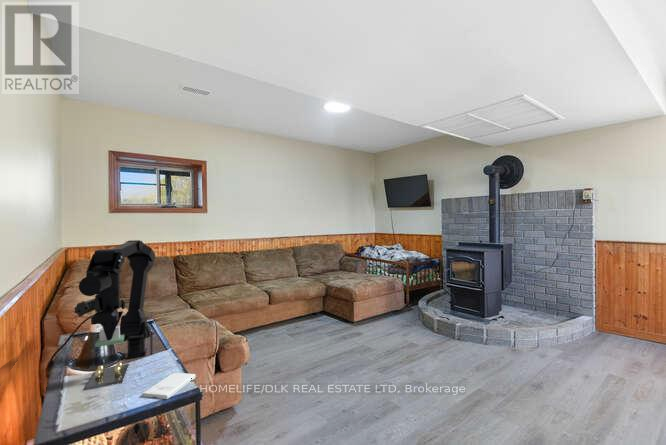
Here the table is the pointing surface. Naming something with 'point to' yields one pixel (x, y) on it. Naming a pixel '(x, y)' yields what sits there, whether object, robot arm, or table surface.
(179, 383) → the external hard drive
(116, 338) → the green u-channel holder
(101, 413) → the table surface
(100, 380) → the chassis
